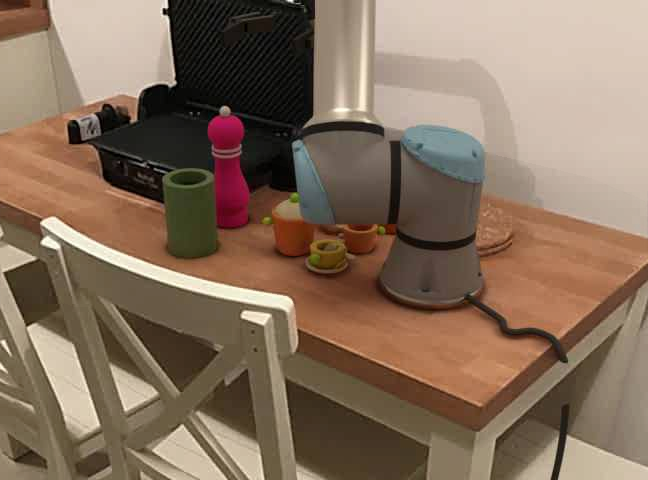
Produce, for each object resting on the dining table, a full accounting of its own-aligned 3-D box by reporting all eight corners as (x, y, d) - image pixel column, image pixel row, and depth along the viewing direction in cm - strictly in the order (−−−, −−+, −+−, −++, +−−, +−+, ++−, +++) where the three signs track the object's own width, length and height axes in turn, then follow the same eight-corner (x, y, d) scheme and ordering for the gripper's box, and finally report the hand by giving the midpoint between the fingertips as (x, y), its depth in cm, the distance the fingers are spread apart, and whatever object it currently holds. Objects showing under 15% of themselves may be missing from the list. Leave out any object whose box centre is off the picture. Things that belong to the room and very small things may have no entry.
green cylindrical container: (226, 250, 150) (222, 180, 143) (181, 262, 147) (175, 191, 140) (204, 232, 156) (200, 164, 149) (160, 243, 153) (154, 174, 146)
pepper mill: (201, 225, 159) (194, 110, 147) (221, 209, 164) (216, 97, 152) (238, 232, 156) (233, 115, 144) (257, 216, 161) (254, 102, 149)
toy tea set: (328, 284, 140) (330, 225, 134) (254, 255, 149) (252, 199, 143) (424, 227, 155) (429, 173, 149) (351, 204, 164) (353, 152, 158)
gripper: (379, 40, 161) (325, 76, 147) (257, 26, 172) (195, 58, 158) (381, -6, 157) (325, 27, 142) (255, -17, 167) (192, 12, 153)
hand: (257, 44), depth 150 cm, fingers open, 13 cm apart
